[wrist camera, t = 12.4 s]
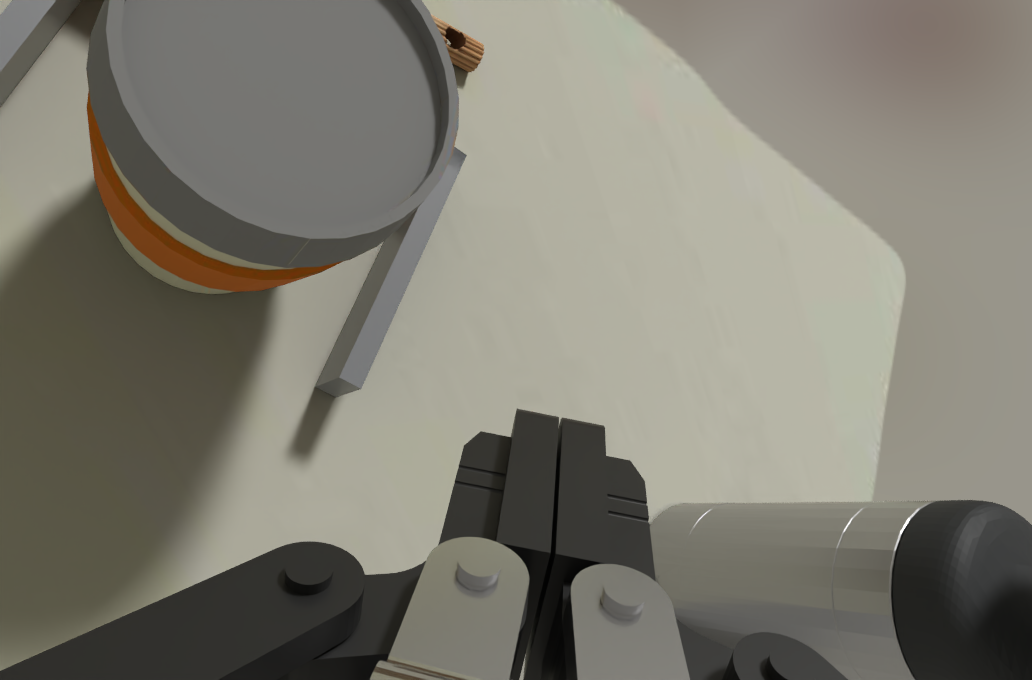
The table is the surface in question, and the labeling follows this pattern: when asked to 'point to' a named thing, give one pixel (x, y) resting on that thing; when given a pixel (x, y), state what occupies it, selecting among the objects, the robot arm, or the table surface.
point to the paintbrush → (460, 46)
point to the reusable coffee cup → (265, 132)
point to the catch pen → (41, 13)
